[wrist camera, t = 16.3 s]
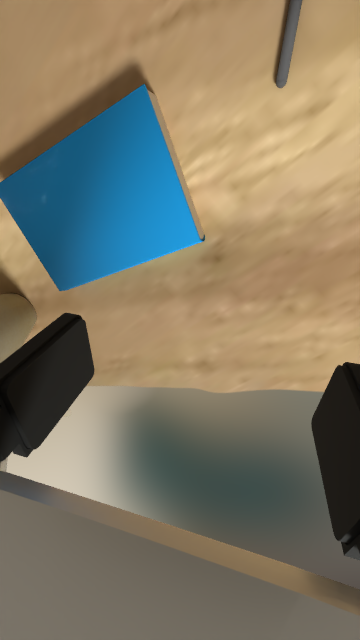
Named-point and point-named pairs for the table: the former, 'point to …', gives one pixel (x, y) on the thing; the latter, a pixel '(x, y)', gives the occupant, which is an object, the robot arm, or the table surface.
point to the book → (105, 195)
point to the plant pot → (14, 323)
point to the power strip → (288, 42)
